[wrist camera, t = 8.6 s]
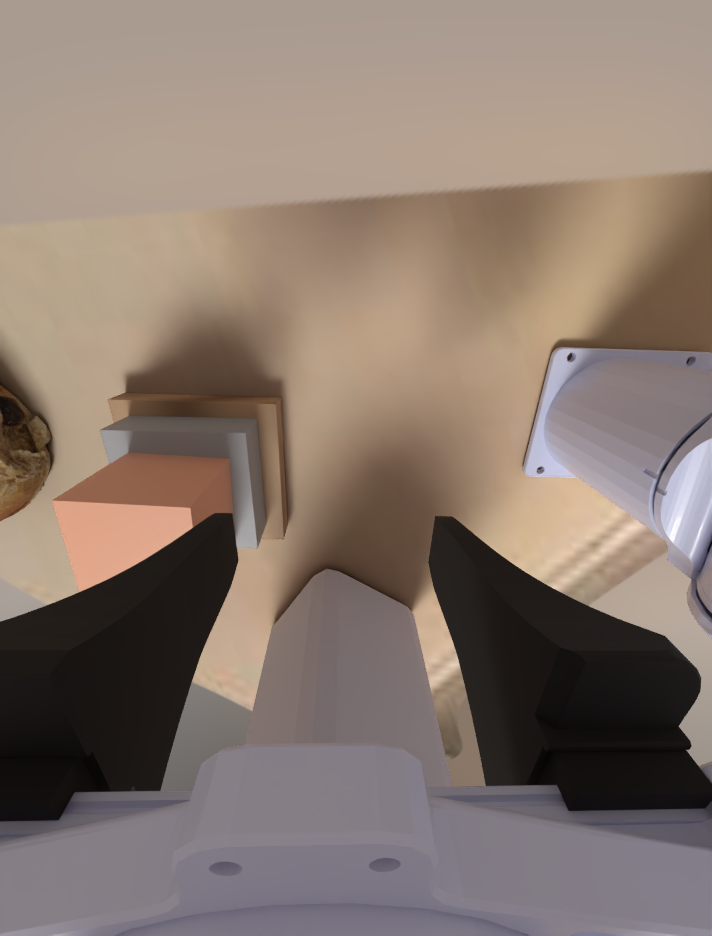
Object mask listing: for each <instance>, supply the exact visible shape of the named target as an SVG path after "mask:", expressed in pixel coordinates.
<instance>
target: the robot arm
mask: <svg viewBox="0 0 712 936" xmlns="http://www.w3.org/2000/svg"><path fill="white" fill-rule="evenodd" d="M570 353H572V358H571V359H570V360H569V361H567V356H568V355H569V354H570ZM688 358H690V359H689V362H688V363H687V364H686V361H687V359H688ZM541 466H542V468H541V470H539V471H537V468H539V467H541ZM523 472H524V473H525V474H526V475H527V476H530V477H573V478H579V479H580V480H582V481H583V482H584V483H586V484H587V485H589V486H590V487H591V488H593V489H594V490H596V491H597V492H598V493H600V494H601V495H603V496H604V497H605V498H607V499H608V500H609V501H611V502H612V503H614V504H615V505H616V506H618V507H619V508H621V509H622V510H623V511H625V512H626V513H628V514H629V515H630V516H632V517H633V518H634V519H636V520H637V521H639V522H640V523H641V524H643V525H644V526H646V527H647V528H648V529H650V530H651V531H653V532H654V533H655V534H657V535H658V536H659V537H661V538H662V539H664V540H665V541H666V542H667V545H668V556H667V561H669V562H670V563H671V564H673V565H674V566H675V567H676V568H678V569H679V570H680V571H682V572H683V573H684V574H685V575H687V576H688V577H689V578H691V579H692V580H691V582H690V585H689V588H688V591H687V602H688V606H689V608H690V611H691V613H692V615H693V616H694V618H695V620H696V621H697V623H698V624H699V625H700V626H701V627H702V629H703V630H704V631H705V632H706V633H707V634H708V636H710V637H711V638H712V353H711V352H695V351H665V350H635V349H604V348H574V347H560V348H557V349H555V350H554V351H553V353H552V355H551V358H550V362H549V366H548V370H547V374H546V378H545V382H544V386H543V390H542V394H541V398H540V402H539V406H538V410H537V414H536V418H535V422H534V426H533V430H532V434H531V438H530V442H529V445H528V449H527V453H526V457H525V461H524V465H523ZM237 563H238V553H237V545H236V537H235V530H234V522H233V514H232V513H214V514H212V515H210V516H209V517H207V518H206V519H204V520H203V521H202V522H200V523H199V524H197V525H196V526H194V527H193V528H192V529H190V530H189V531H187V532H186V533H184V534H183V535H181V536H180V537H179V538H177V539H176V540H174V541H173V542H171V543H170V544H168V545H167V546H165V547H163V548H162V549H160V550H159V551H157V552H156V553H154V554H152V555H151V556H149V557H148V558H146V559H144V560H143V561H141V562H139V563H138V564H136V565H134V566H132V567H130V568H129V569H127V570H125V571H123V572H121V573H119V574H117V575H115V576H113V577H111V578H109V579H107V580H105V581H103V582H101V583H99V584H96V585H94V586H92V587H90V588H88V589H85V590H83V591H81V592H79V593H76V594H74V595H72V596H70V597H67V598H65V599H62V600H60V601H57V602H55V603H52V604H50V605H47V606H44V607H42V608H39V609H36V610H33V611H31V612H28V613H26V614H22V615H19V616H17V617H14V618H11V619H7V620H4V621H1V622H0V936H712V762H708V763H706V764H704V765H701V766H700V767H699V766H698V765H697V764H696V762H695V761H694V760H693V759H692V757H691V756H690V755H689V753H688V752H687V751H686V750H689V749H690V748H691V742H690V740H689V739H688V738H687V736H686V735H685V734H684V733H683V732H682V730H681V729H680V728H679V725H680V723H681V721H682V720H683V719H684V717H685V716H686V714H687V713H688V711H689V710H690V708H691V707H692V705H693V704H694V703H695V701H696V699H697V697H698V694H699V693H700V688H701V677H700V674H699V672H698V670H697V669H696V667H695V666H694V665H692V663H690V661H689V660H688V659H687V658H686V657H685V656H684V655H683V654H682V653H681V652H680V651H679V650H678V649H677V648H676V647H675V646H674V645H673V644H672V643H671V642H670V641H669V640H668V639H667V638H666V637H665V636H663V635H661V634H658V633H655V632H652V631H650V630H647V629H644V628H641V627H639V626H636V625H633V624H630V623H628V622H625V621H622V620H620V619H617V618H615V617H612V616H610V615H608V614H605V613H603V612H600V611H598V610H596V609H593V608H591V607H589V606H587V605H585V604H583V603H581V602H578V601H576V600H574V599H572V598H570V597H568V596H566V595H565V594H563V593H561V592H559V591H557V590H555V589H553V588H551V587H549V586H548V585H546V584H544V583H542V582H541V581H539V580H537V579H536V578H534V577H532V576H531V575H529V574H527V573H526V572H524V571H523V570H521V569H520V568H518V567H517V566H515V565H514V564H512V563H511V562H509V561H508V560H507V559H505V558H504V557H502V556H501V555H500V554H498V553H497V552H496V551H494V550H493V549H492V548H490V547H489V546H488V545H487V544H485V543H484V542H483V541H482V540H480V539H479V538H478V537H477V536H476V535H474V534H473V533H472V532H471V531H470V530H468V529H467V528H466V527H465V526H464V525H462V524H461V523H460V522H459V521H457V520H456V519H455V518H453V517H446V516H435V522H434V529H433V535H432V542H431V548H430V555H429V567H430V573H431V577H432V582H433V586H434V590H435V593H436V595H437V598H438V601H439V604H440V607H441V610H442V612H443V615H444V618H445V621H446V624H447V626H448V629H449V632H450V635H451V637H452V640H453V643H454V646H455V649H456V653H457V656H458V659H459V663H460V667H461V671H462V676H463V680H464V684H465V688H466V692H467V697H468V701H469V705H470V710H471V713H472V718H473V723H474V727H475V733H476V737H477V742H478V747H479V752H480V757H481V762H482V767H483V773H484V777H485V784H486V786H460V787H427V786H426V780H425V775H424V771H423V768H422V764H421V761H420V760H418V759H417V758H416V757H415V756H413V755H412V754H410V753H408V752H407V751H405V750H404V749H402V748H400V747H399V746H393V745H387V744H380V743H284V744H246V745H240V746H235V747H229V748H225V749H223V750H221V751H220V752H218V753H217V754H216V755H214V756H213V757H211V758H209V759H208V760H206V761H205V762H204V763H202V764H201V767H200V770H199V773H198V776H197V779H196V782H195V786H194V789H193V791H160V790H161V786H162V782H163V778H164V774H165V771H166V767H167V763H168V760H169V756H170V753H171V749H172V746H173V742H174V738H175V735H176V731H177V728H178V724H179V721H180V718H181V714H182V711H183V708H184V705H185V702H186V698H187V695H188V692H189V688H190V685H191V682H192V679H193V676H194V673H195V670H196V667H197V664H198V661H199V658H200V656H201V653H202V651H203V648H204V646H205V643H206V641H207V639H208V636H209V634H210V632H211V630H212V628H213V625H214V623H215V621H216V619H217V616H218V614H219V612H220V610H221V608H222V605H223V603H224V601H225V598H226V596H227V594H228V592H229V589H230V587H231V584H232V581H233V578H234V574H235V571H236V567H237Z"/></svg>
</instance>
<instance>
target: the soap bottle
mask: <svg viewBox="0 0 712 936" xmlns="http://www.w3.org/2000/svg"><path fill="white" fill-rule="evenodd" d="M284 743H380V744H387V745H393V746H399V747H400V748H402V749H404V750H405V751H407V752H408V753H410V754H412V755H413V756H415V757H416V758H417V759H418V760H420V761H421V764H422V768H423V771H424V775H425V780H426V786H427V787H452V783H451V779H450V774H449V770H448V765H447V761H446V756H445V752H444V747H443V743H442V739H441V734H440V730H439V725H438V721H437V716H436V712H435V708H434V703H433V699H432V694H431V690H430V685H429V681H428V676H427V672H426V668H425V663H424V659H423V654H422V650H421V645H420V641H419V637H418V632H417V628H416V623H415V619H414V615H413V613H412V612H411V611H410V610H409V608H408V607H407V606H405V605H403V604H401V603H399V602H397V601H395V600H393V599H392V598H390V597H388V596H386V595H384V594H382V593H380V592H378V591H376V590H374V589H372V588H370V587H368V586H366V585H364V584H362V583H361V582H359V581H357V580H355V579H353V578H351V577H349V576H347V575H345V574H343V573H341V572H339V571H336V570H331V569H325V570H323V571H322V572H320V573H318V574H316V575H314V576H313V577H312V579H311V580H310V581H309V582H308V584H307V585H306V586H305V587H304V589H303V590H302V591H301V592H300V594H299V595H298V596H297V597H296V598H295V600H294V601H293V602H292V603H291V605H290V606H289V607H288V608H287V610H286V611H285V612H284V613H283V615H282V616H281V617H280V618H279V620H278V621H277V622H276V623H275V625H274V626H273V627H272V629H271V633H270V638H269V642H268V646H267V651H266V655H265V659H264V664H263V668H262V673H261V677H260V681H259V686H258V690H257V694H256V699H255V703H254V707H253V712H252V716H251V721H250V725H249V729H248V733H247V738H246V742H245V745H246V744H284Z"/></svg>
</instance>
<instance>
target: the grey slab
mask: <svg viewBox="0 0 712 936" xmlns="http://www.w3.org/2000/svg"><path fill="white" fill-rule="evenodd" d="M100 433H101V436H102V440H103V443H104V447H105V450H106V454H107V457H108V461H109V464H111V463H112V462H114V461H115V460H117V459H119V458H120V457H122V456H123V455H125V454H127V453H128V452H129V453H146V454H162V455H178V456H194V457H210V458H226V459H230V468H231V482H232V497H233V512H234V527H235V537H236V545H237V548H258V546H259V543H260V540H261V537H262V535H263V532H264V529H265V526H266V515H265V503H264V492H263V481H262V470H261V459H260V448H259V436H258V425H257V418H211V417H163V416H127V417H125V418H123V419H121V420H119V421H117V422H115V423H113V424H111V425H109V426H107V427H105V428H103V429H101V430H100Z"/></svg>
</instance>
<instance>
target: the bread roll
mask: <svg viewBox="0 0 712 936" xmlns="http://www.w3.org/2000/svg"><path fill="white" fill-rule="evenodd" d="M50 439H51V435H50V432H49V430H48V428H47V425H46V424H44V423H43V422H42V421H41V420H40V418H39V417H38V416H34V415H33V414H32V413H31V412H30V411H29V410H28V409H27V408H26V407H25V406H24V405H23V404H22V403H21V402H20V401H19V399H18V398H17V397H15V396H14V395H13V394H11V393H10V392H9V391H8V390H6V389H5V388H4V387H2V386H1V385H0V521H2V520H4V519H6V518H8V517H10V516H12V515H14V514H15V513H17V512H19V511H20V510H22V509H23V508H25V507H26V506H27V505H28V504H30V503H31V501H32V500H33V499H34V498H35V496H36V495H37V493H38V492H39V491H40V490H41V487H42V484H43V482H44V481H45V479H46V478H47V475H48V473H49V469H50V455H49V452H48V450H47V447H46V444H47V443H48V442H49V441H50Z"/></svg>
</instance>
